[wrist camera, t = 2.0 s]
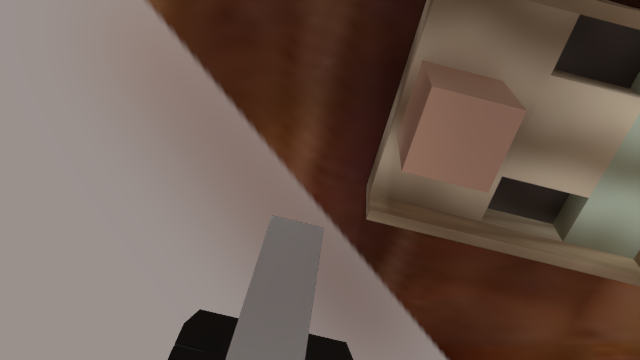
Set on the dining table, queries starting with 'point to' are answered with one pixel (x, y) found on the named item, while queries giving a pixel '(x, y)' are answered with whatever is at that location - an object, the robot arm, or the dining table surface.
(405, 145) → the terracotta block
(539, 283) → the dining table surface
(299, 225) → the robot arm
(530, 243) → the tray
